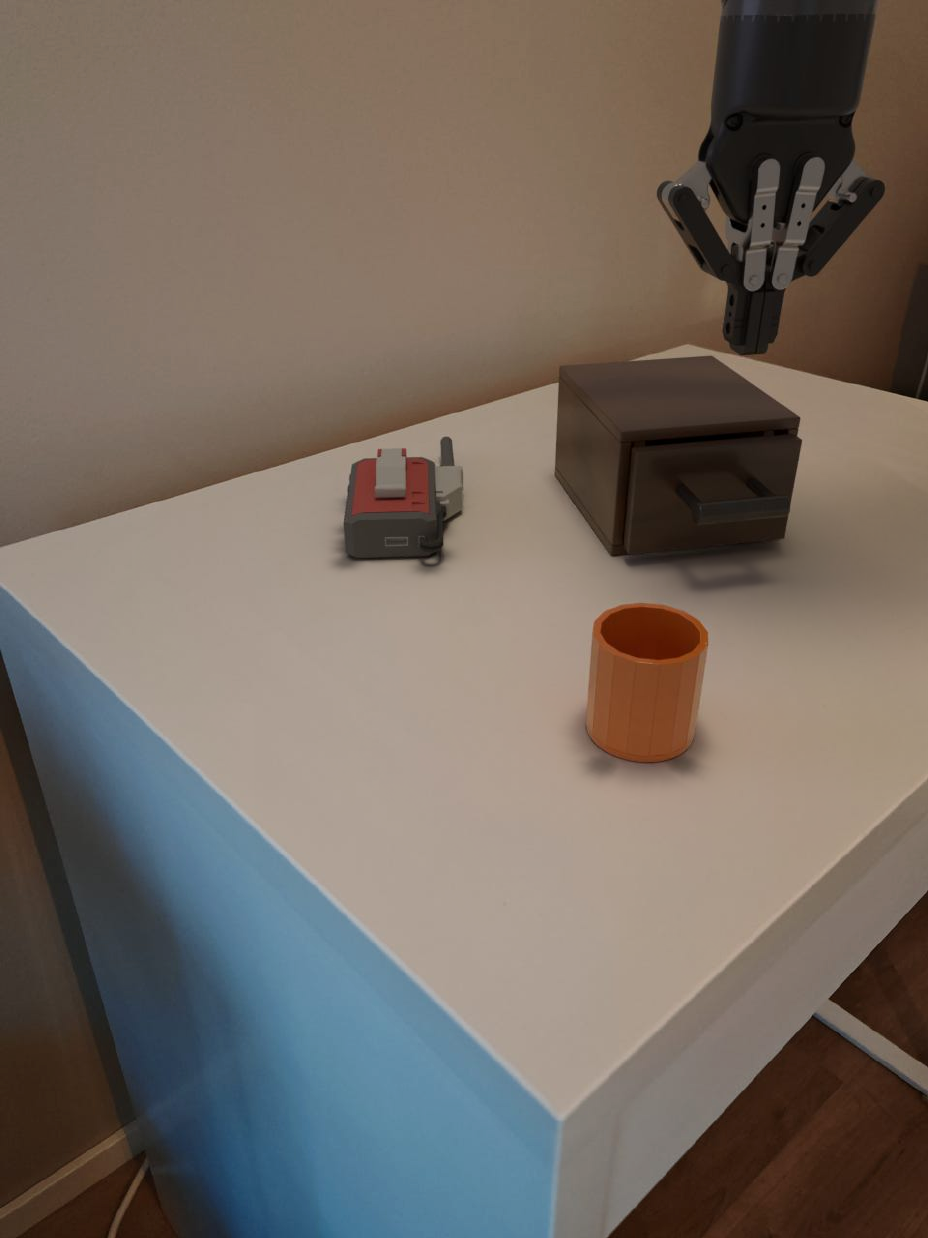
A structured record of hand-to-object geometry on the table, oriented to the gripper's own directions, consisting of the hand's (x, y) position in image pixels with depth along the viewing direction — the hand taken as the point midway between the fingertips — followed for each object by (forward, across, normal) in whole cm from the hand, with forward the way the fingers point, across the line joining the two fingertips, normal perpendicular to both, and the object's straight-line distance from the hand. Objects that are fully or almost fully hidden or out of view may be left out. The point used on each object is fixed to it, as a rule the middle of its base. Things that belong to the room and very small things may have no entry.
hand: (747, 350), depth 58 cm
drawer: (+14, 0, +6) cm, 15 cm away
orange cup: (+15, -11, -15) cm, 24 cm away
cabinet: (+15, 0, +11) cm, 18 cm away
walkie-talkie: (+15, -19, +15) cm, 28 cm away
